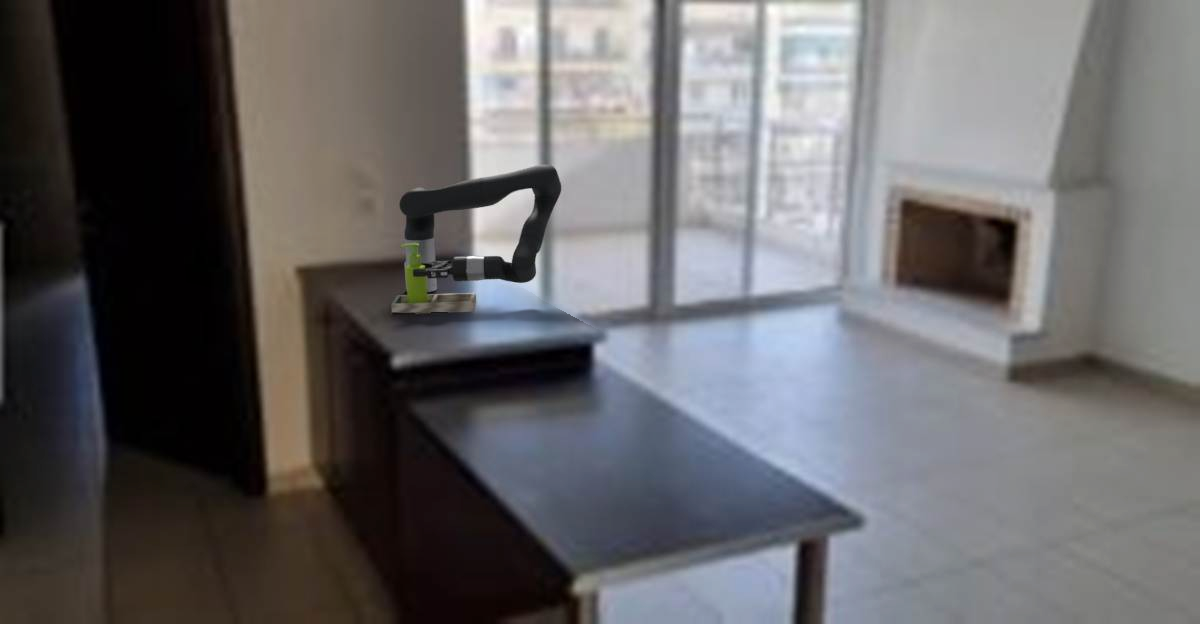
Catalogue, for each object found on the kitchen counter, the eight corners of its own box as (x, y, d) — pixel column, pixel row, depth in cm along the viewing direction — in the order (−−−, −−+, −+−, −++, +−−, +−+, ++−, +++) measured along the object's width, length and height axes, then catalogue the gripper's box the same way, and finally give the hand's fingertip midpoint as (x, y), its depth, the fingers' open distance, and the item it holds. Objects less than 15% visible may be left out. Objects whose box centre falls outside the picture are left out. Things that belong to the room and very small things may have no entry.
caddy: (391, 314, 309) (391, 304, 309) (398, 304, 321) (397, 295, 320) (472, 311, 310) (472, 301, 309) (476, 302, 322) (475, 292, 321)
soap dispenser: (405, 307, 318) (401, 242, 313) (428, 306, 318) (424, 241, 314) (403, 311, 312) (399, 245, 307) (427, 310, 313) (423, 245, 308)
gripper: (470, 251, 319) (417, 253, 318) (466, 260, 305) (410, 262, 305) (471, 275, 321) (419, 277, 320) (467, 285, 307) (412, 287, 306)
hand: (415, 270), depth 312 cm, fingers open, 8 cm apart
